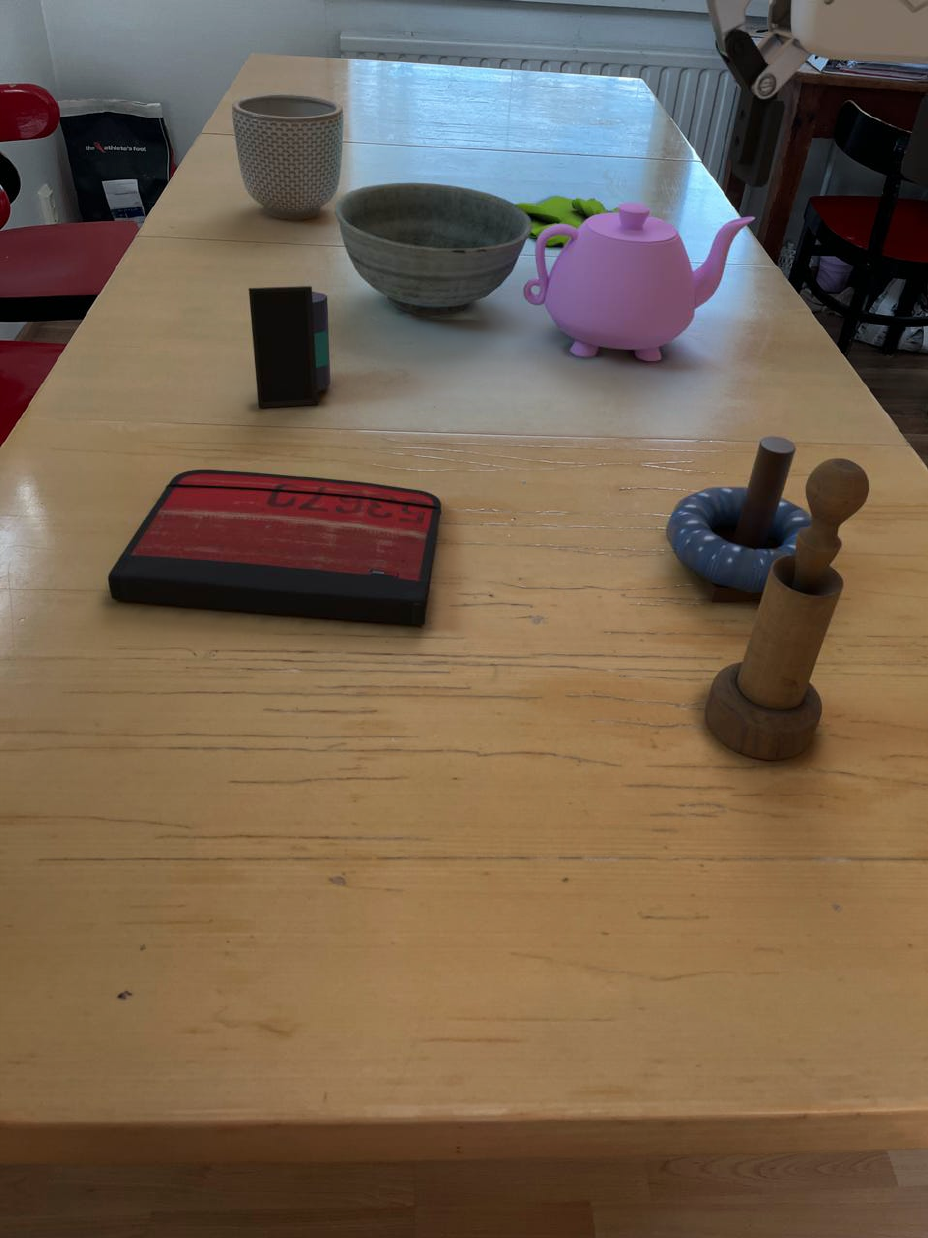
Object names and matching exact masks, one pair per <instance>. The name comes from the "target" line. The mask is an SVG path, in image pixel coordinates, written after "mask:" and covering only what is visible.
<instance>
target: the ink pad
mask: <svg viewBox="0 0 928 1238" xmlns="http://www.w3.org/2000/svg"><path fill="white" fill-rule="evenodd" d="M441 515H442V502H441V500H440V498H439V497H438V496H436V494H435V495H434V494H433V493H431V492H428V491H424V490H421V489H413V488H406V487H400V486H393V485H386V484H379V483H373V482H364V481H355V480H347V479H346V480H345V479H334V478H325V477H314V476H301V475H291V474H290V475H288V474H278V473H277V474H276V473H268V472H267V473H266V472H253V471H242V470H241V471H239V470H237V471H236V470H221V469H192V470H187V471H183V472H180V473H178V474H176V475H175V476H173V477H172V479H171V480H169V483H168V484H167V485H166V486H165V489H164V490H163V491H162V493H161V495H160V496H159V497H158V499H157V501H156V502H155V504H154V505H153V506H152V508H151V509H150V511H149V513H148V514H147V515H146V516H145V518H144V519H143V521H142V522H141V524H140V525H139V527H138V528H137V530H136V531H135V533H134V535H133V536H132V537H131V539H130V541H129V542H128V544H127V545H126V547H125V548H124V550H123V551H122V553H121V554H120V556H119V557H118V559H117V561H116V562H115V564H114V565H113V567H112V568H111V570H110V572H109V574H108V576H107V581H108V582H107V583H108V587H109V592H110V596H111V599H113V600H115V601H127V602H128V601H129V602H136V603H148V604H158V605H169V606H177V607H178V606H179V607H190V608H191V607H192V608H200V609H201V608H202V609H216V610H227V611H240V612H251V613H252V612H253V613H265V614H277V615H287V616H288V615H290V616H299V617H300V616H301V617H314V618H325V619H337V620H338V619H339V620H351V621H361V622H362V621H363V622H376V623H387V624H388V623H389V624H400V625H401V624H402V625H412V626H413V625H414V626H419V627H420V626H424V625H425V624H426V612H427V607H428V602H429V601H428V600H429V593H430V589H431V588H430V586H431V580H432V574H433V567H434V560H435V552H436V545H437V539H438V531H439V522H440V516H441Z"/></svg>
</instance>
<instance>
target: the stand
mask: <svg viewBox="0 0 928 1238" xmlns="http://www.w3.org/2000/svg"><path fill="white" fill-rule="evenodd" d="M796 450H797V447H796V445H795V443H794V442H792V441H790V440H789V439H787V438H785V437H782V436H775V435H774V436H773V435H771V436H764V437H763V438H761V439H760V441H759V444H758V448H757V450H756V451H757V452H756V455H755V458H754V462H753V466H752V469H751V474H750V476H749V481H748V483H747V484H748V485H747V487H746V488H747V491H746V495H745V499H744V502H743V506H742V509H741V513H740V517H739V520H738V524H737V527H716V528H714V529H712V532H713V533H715V534H716V535H718V536H720V537H721V538H723V539H725V540H726V541H728V542H730V543H733V544H737V545H741V546H745V547H749V548H752V549H775V548H778V547H780V545H779V544H778V543H777V542H776V541H774V540H772V539H771V538H769V537H770V533H771V530H772V527H773V523H774V520H775V517H776V513H777V510H778V507H779V503H780V500H781V497H782V496H783V493H784V490H785V487H786V483H787V480H788V477H789V472H790V470H791V467H792V463H793V460H794V456H795V454H796ZM782 498H783V497H782ZM693 573H694V574H695V576H696V578H697V579H698V581H699V583H700V584H701V586H702V588H703V589H704V592H705V593H706V595H707V596H708V598H709V600H710V602H711V603H719V602H736V601H753V600H754V601H755V600H761V599H762V595H763V592H758V593H749V592H745V591H741V590H737V589H733V588H730V587H726V586H722V585H718V584H714V583H712V582H710V581H708V580H706V579H705V578H703V577H702V576H700V575H699V574H697V573H696V572H694V571H693Z"/></svg>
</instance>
